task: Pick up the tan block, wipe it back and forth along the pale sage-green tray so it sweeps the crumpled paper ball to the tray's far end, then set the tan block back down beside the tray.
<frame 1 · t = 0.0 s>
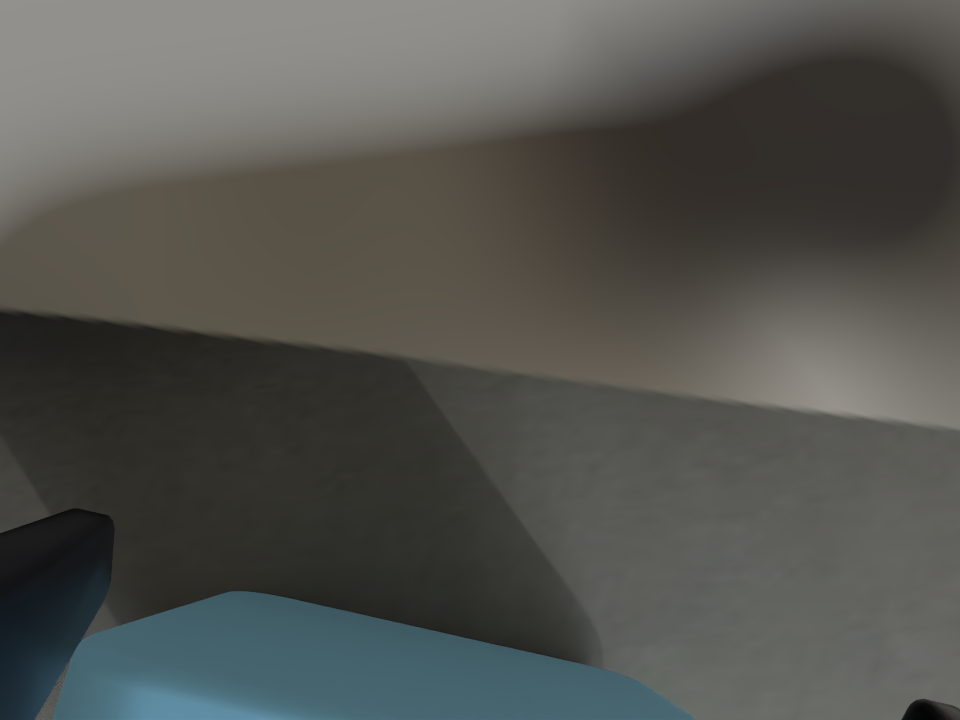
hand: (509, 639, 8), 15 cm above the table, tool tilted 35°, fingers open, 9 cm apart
data package: (419, 710, 22), on the table
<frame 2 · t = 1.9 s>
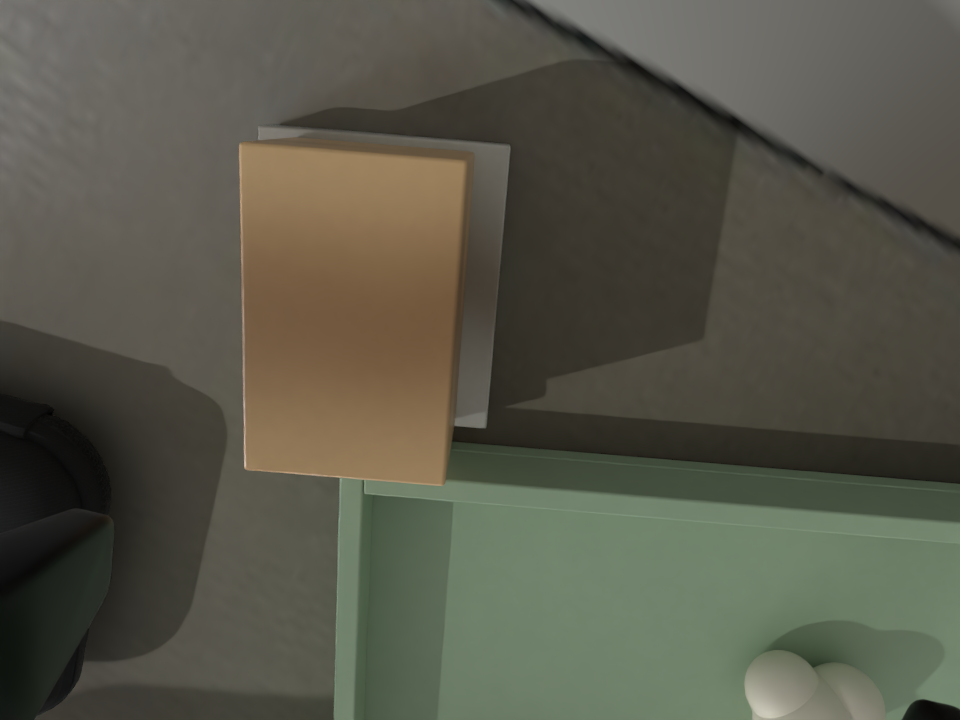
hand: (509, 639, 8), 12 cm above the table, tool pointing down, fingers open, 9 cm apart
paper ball: (788, 686, 22), point 1 cm above the table, touching tray
tray: (704, 666, 23), on the table
tan block: (385, 276, 20), on the table
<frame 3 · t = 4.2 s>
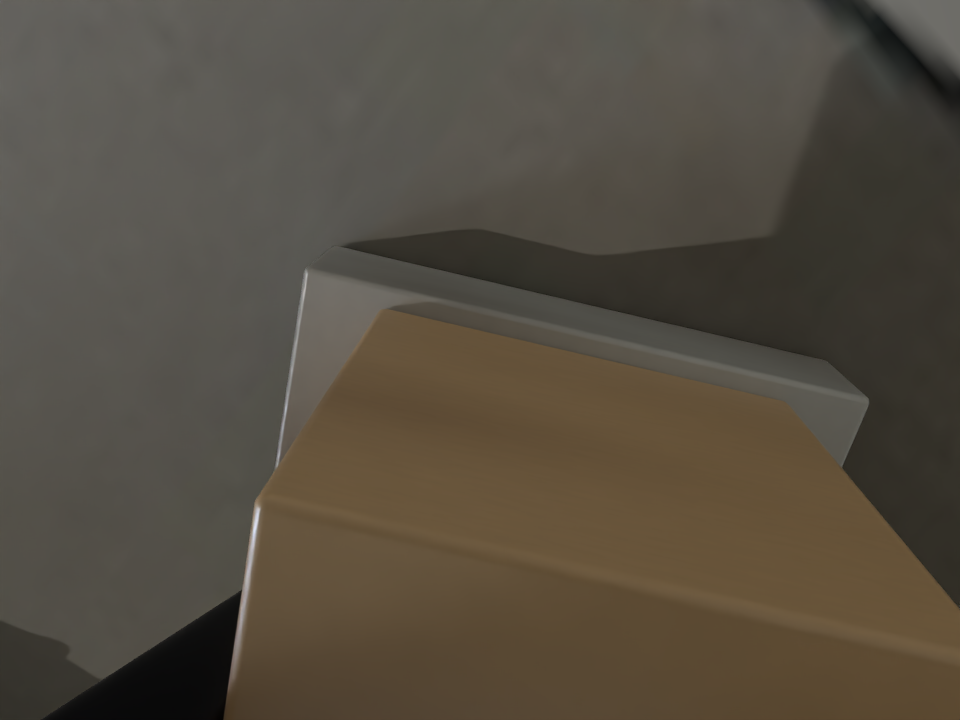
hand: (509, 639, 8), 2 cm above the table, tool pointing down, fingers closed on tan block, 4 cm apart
tan block: (510, 558, 10), on the table, touching gripper
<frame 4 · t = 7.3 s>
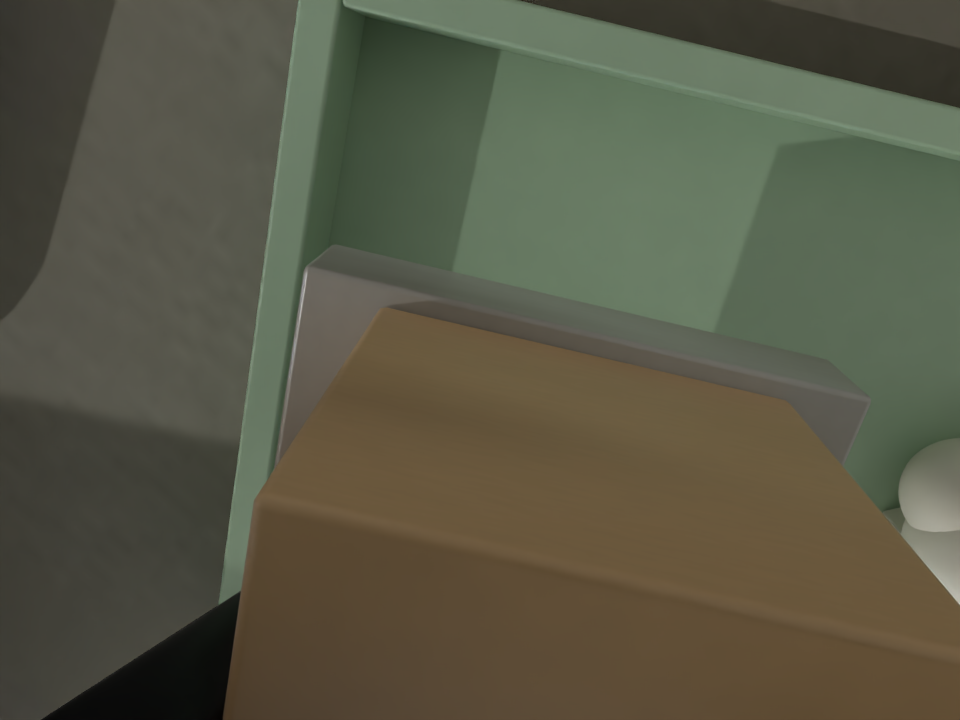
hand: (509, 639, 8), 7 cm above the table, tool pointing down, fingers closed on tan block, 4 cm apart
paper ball: (950, 512, 14), point 1 cm above the table, touching tray
tray: (821, 470, 15), on the table
tan block: (510, 558, 10), point 5 cm above the table, touching gripper
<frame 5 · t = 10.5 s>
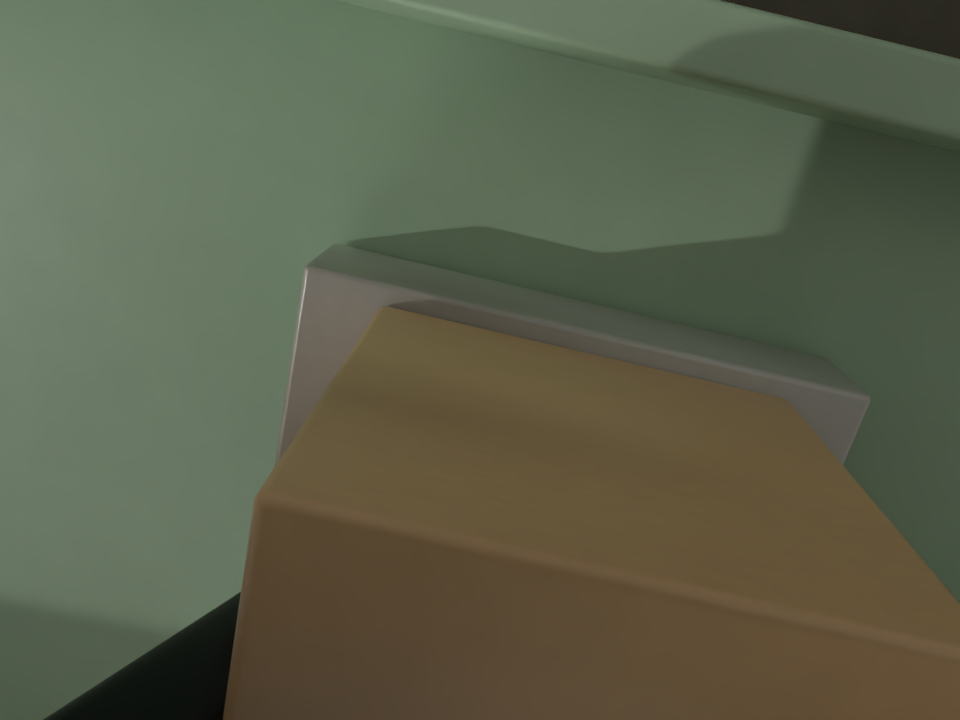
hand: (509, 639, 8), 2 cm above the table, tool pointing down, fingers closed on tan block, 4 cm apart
tray: (339, 493, 10), on the table
tan block: (510, 557, 10), point 1 cm above the table, touching gripper, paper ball
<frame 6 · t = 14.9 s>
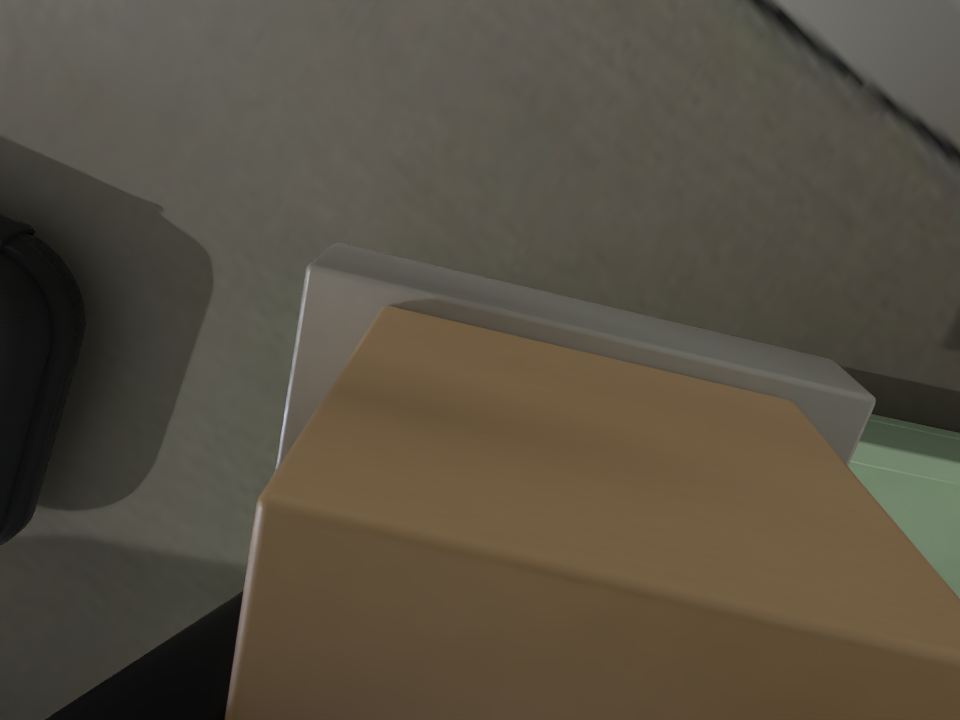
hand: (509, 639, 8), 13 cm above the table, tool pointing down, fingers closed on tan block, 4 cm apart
tray: (666, 587, 23), on the table
tan block: (512, 557, 10), point 11 cm above the table, touching gripper
when the fingers open (1 cm above the table, at t = 18.3 s): tan block stays where it is, on the table.
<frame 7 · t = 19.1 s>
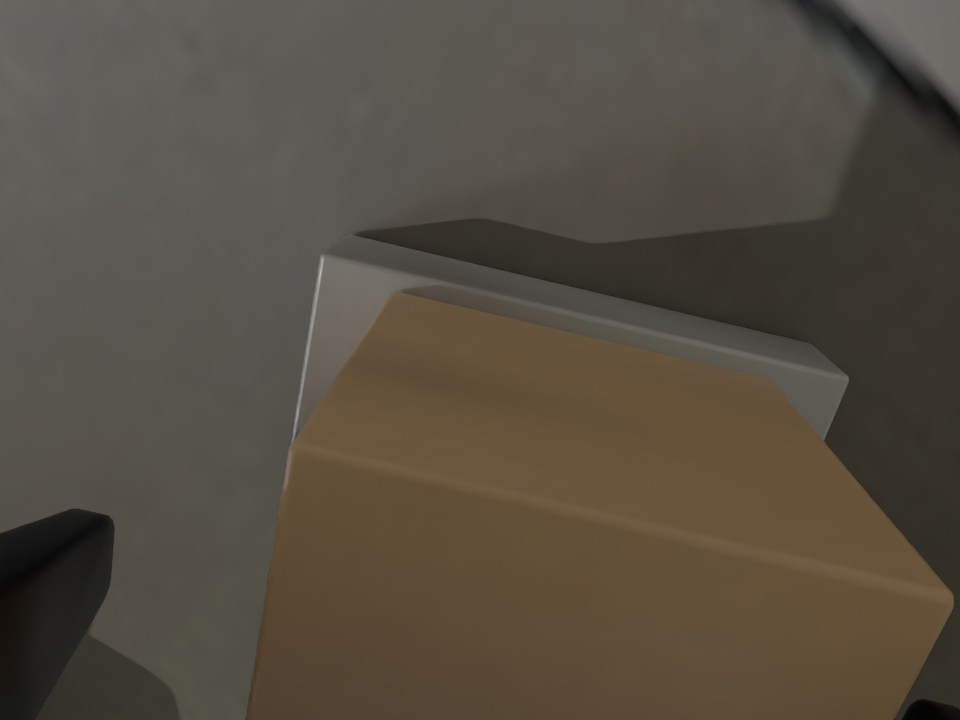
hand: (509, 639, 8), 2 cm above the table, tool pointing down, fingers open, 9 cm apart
tan block: (512, 532, 10), on the table
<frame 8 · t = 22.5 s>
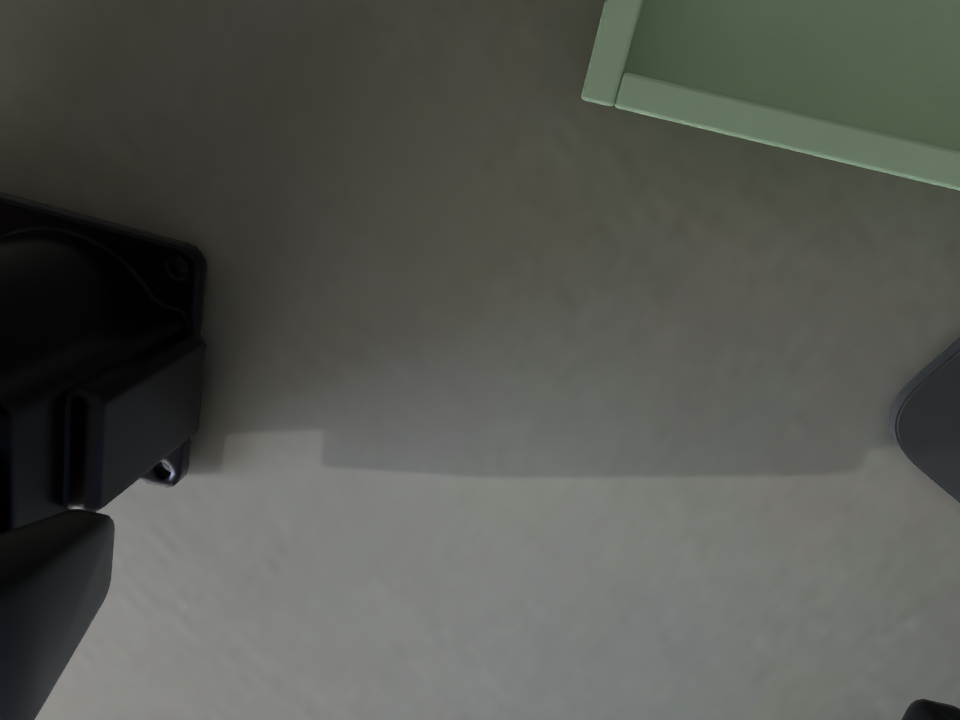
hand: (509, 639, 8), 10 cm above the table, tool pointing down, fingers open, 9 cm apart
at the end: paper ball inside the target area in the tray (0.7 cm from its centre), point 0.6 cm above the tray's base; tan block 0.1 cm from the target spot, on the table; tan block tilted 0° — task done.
